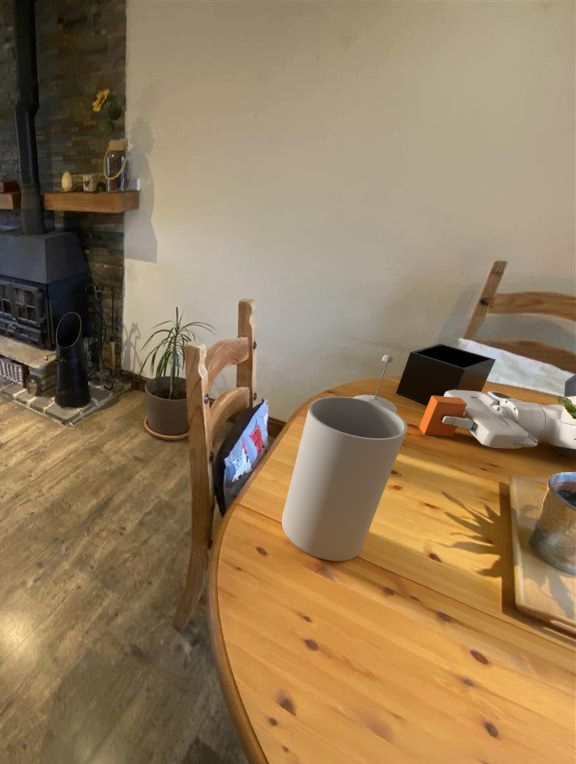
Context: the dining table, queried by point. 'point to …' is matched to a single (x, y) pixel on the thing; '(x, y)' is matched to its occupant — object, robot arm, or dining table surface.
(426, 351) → the bin
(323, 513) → the cylinder vase
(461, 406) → the block
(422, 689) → the dining table surface
